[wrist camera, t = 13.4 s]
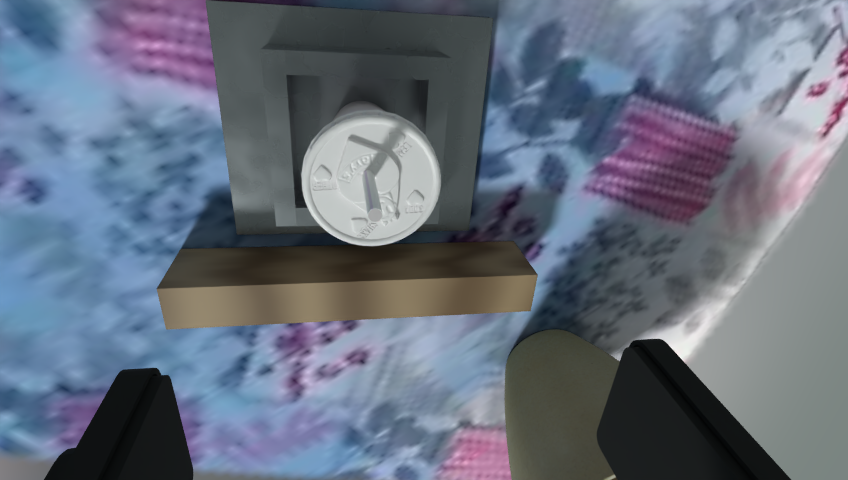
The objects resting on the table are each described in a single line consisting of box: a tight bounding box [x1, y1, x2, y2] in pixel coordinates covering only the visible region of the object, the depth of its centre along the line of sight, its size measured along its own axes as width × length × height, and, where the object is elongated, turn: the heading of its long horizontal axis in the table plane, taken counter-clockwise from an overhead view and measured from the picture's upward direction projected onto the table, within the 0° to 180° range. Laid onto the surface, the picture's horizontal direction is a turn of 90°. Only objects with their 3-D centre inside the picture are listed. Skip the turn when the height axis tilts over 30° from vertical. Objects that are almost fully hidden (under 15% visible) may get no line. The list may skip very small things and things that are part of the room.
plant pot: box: [505, 329, 620, 480], centre depth 36 cm, size 15×15×16 cm
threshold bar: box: [157, 241, 538, 329], centre depth 33 cm, size 24×3×5 cm, turn 86°
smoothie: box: [301, 101, 441, 246], centre depth 24 cm, size 6×6×14 cm
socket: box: [206, 0, 493, 235], centre depth 29 cm, size 16×14×4 cm
